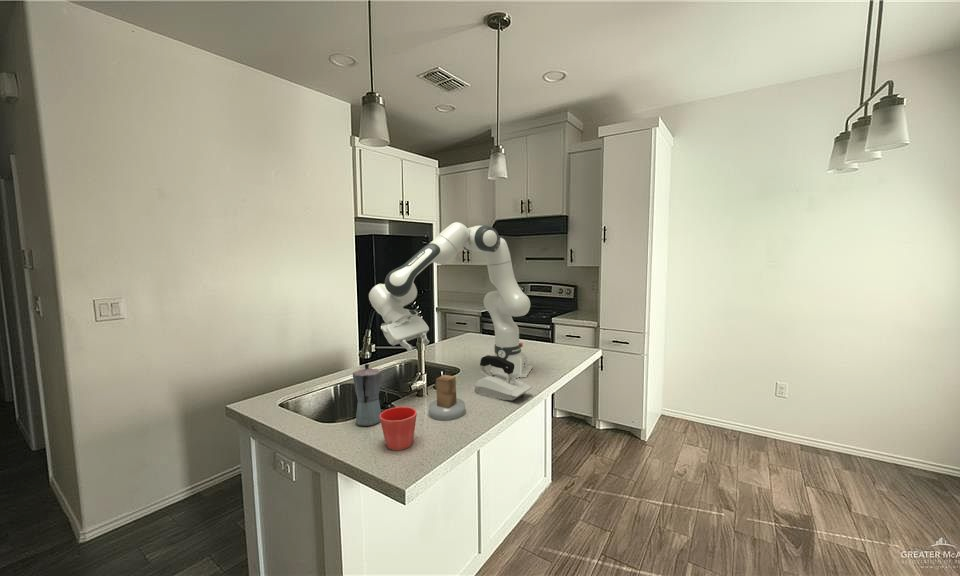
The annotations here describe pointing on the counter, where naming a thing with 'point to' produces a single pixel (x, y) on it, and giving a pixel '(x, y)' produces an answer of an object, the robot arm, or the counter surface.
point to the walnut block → (446, 391)
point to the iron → (500, 380)
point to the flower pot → (398, 427)
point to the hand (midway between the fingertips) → (419, 346)
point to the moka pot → (367, 395)
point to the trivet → (447, 411)
